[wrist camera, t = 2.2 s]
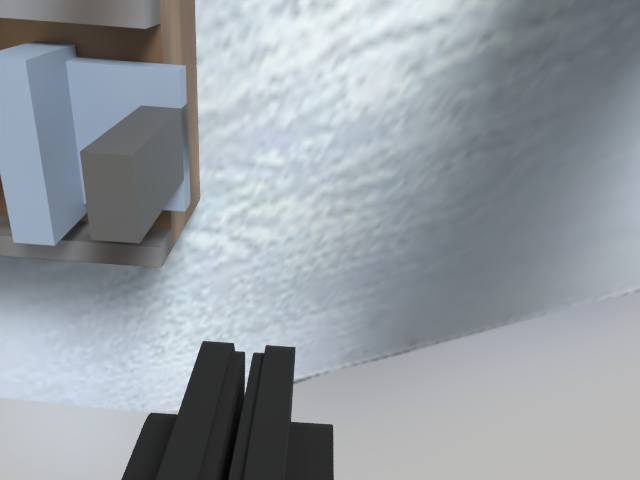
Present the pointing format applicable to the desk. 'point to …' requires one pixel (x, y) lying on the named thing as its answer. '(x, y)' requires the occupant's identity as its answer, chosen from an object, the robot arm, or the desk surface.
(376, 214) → the desk surface
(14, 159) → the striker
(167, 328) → the desk surface
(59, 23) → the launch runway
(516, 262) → the desk surface
